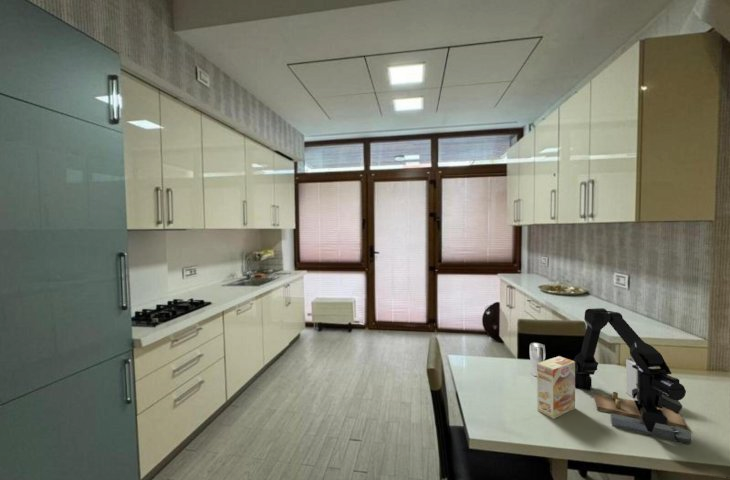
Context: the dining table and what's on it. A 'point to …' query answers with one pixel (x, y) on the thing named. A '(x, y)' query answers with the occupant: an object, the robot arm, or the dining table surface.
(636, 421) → the grey ball-topped bar
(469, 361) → the dining table surface
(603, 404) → the tool rest
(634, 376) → the milk carton
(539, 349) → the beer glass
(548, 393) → the coffeecake box
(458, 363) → the dining table surface
